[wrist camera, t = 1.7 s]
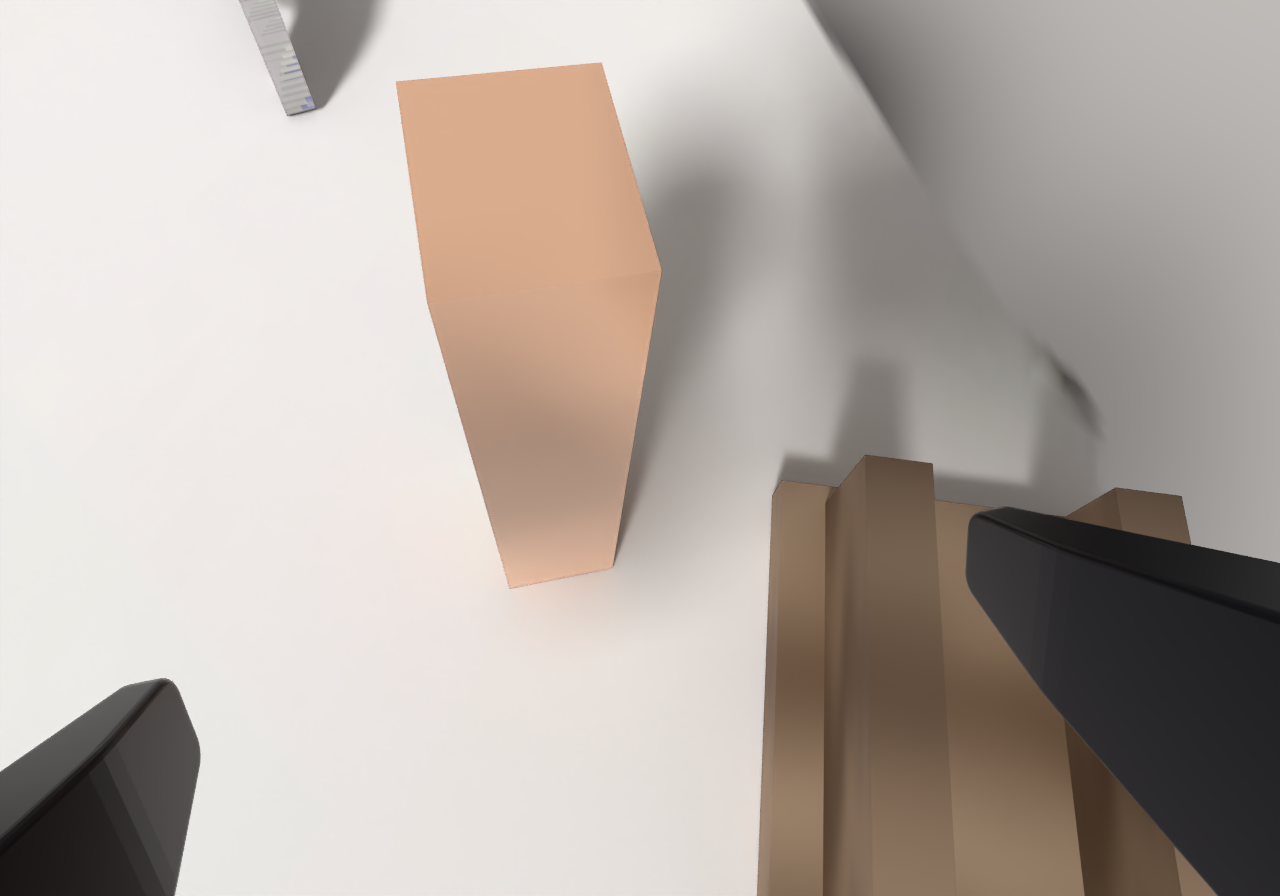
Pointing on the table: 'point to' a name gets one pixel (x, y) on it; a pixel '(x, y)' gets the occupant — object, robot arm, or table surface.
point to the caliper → (278, 54)
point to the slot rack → (928, 714)
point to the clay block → (536, 299)
